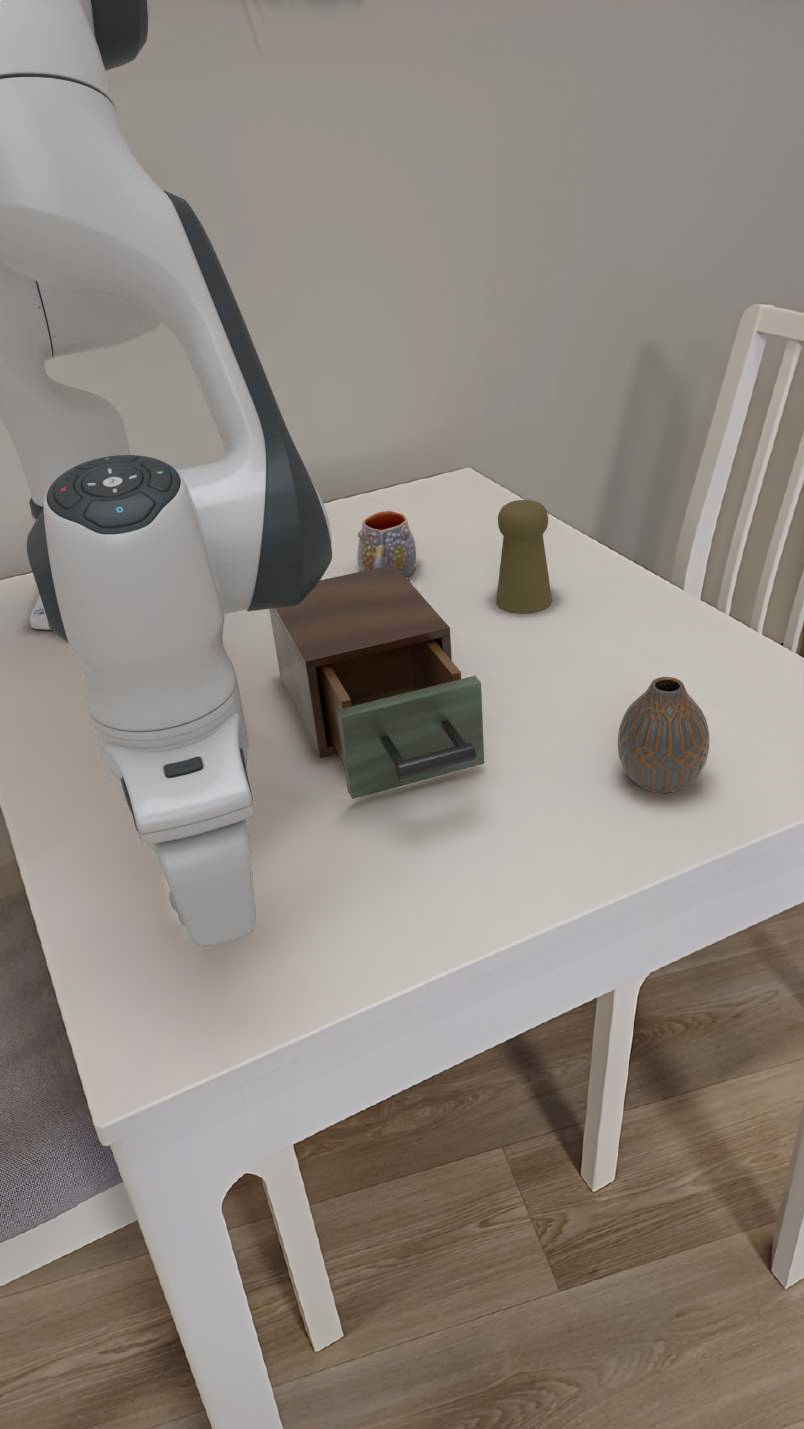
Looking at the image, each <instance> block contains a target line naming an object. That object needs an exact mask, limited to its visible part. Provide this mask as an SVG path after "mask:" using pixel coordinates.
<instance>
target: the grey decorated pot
mask: <svg viewBox="0 0 804 1429" xmlns="http://www.w3.org/2000/svg"><path fill="white" fill-rule="evenodd" d="M407 518H408V517H406V515H404V514H402V513H401V512H396V511H392V510H385V511H379V512H375V513H373V514H372V515H369V516H368V517H366V518H365V519H364V520H363V521H362V523H361V529H360V530H359V531H358V532H357V537H358V538H359V539H358V544H357V551H356V562H357V565H358V569H359V572H361V571H366V570H371V569H375V568H380V567H385V566H389V565H395V566H396V567H397V568H398V569H399V570H400V572H401V573H402V574H403V575H404V576H405V577H406V578H408V577H409V576H410V575H411V574H412V572H413V571H414V568H415V566H416V564H417V563H416V562H417V546H416V541H415V538H414V537H415V536H414V535H413V533H412V531H411V529H410V528H411V527H410V526H409V522H408V519H407Z"/></svg>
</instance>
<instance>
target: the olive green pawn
mask: <svg viewBox="0 0 804 1429" xmlns="http://www.w3.org/2000/svg"><path fill="white" fill-rule="evenodd" d="M497 526H498V529H499V532H500V533H501V535H502V536H503V538H502V545H501V553H500V564H499V572H498V581H497V592H496V601H495V602H496V605H497V607H498V608H500V609H501V610H503V611H505V612H509V613H513V614H531V613H538V612H541V611H543V610H545V609H547V608H548V607H549V606H551V604H552V603H553V598H552V591H551V582H550V578H549V576H550V575H549V570H548V561H547V555H546V548H545V541H544V534H545V532H546V531H547V529H548V526H549V515H548V511H547V508H546V507H545V505H544V504H542V503H541V502H538V501H536V500H532V499H518V500H513V501H510V502H507V503H506V504H504V505H503V506H502V507H501V509H500V510H499V511H498V515H497Z"/></svg>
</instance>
